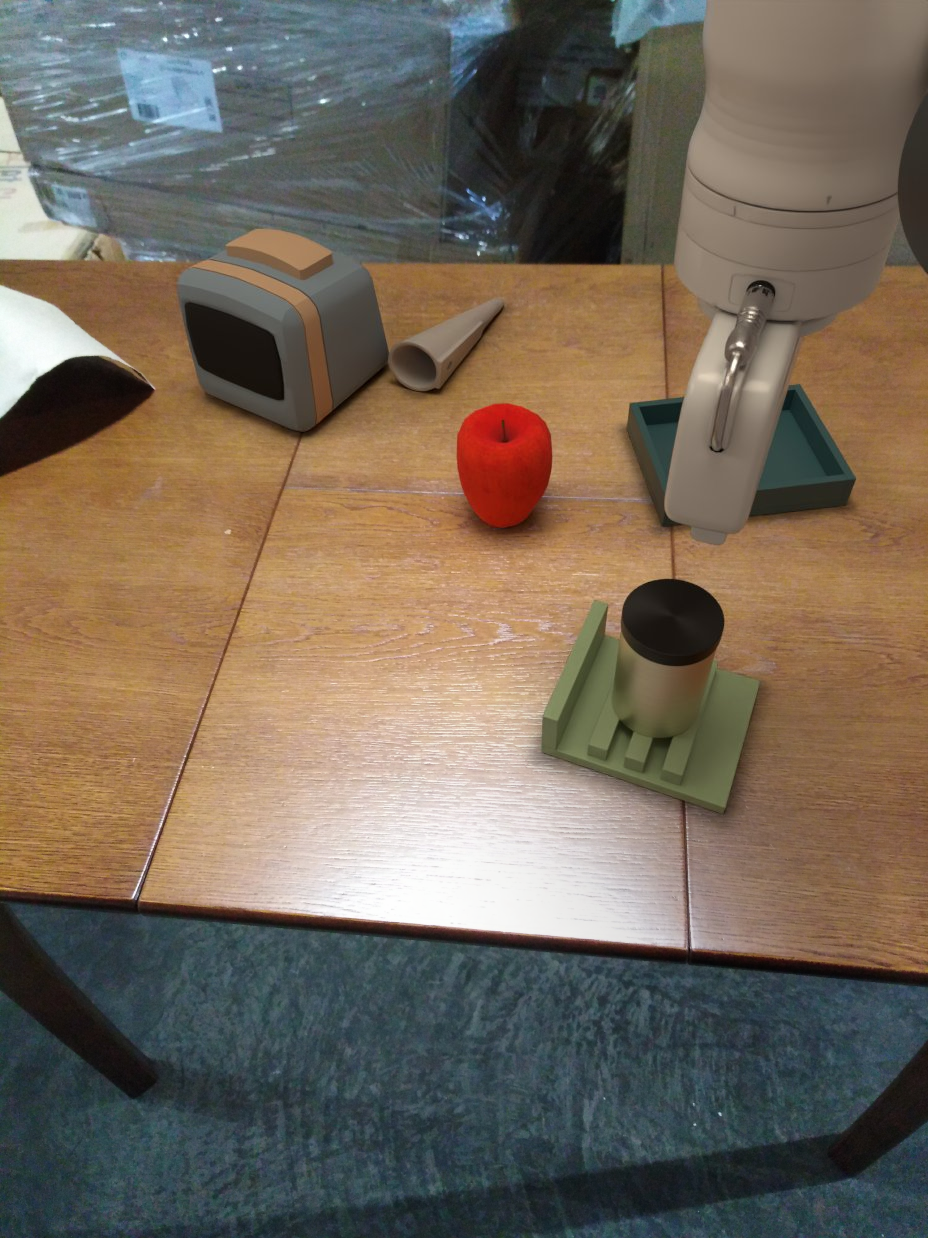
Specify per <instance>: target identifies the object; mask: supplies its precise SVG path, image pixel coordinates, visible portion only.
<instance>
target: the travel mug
mask: <svg viewBox="0 0 928 1238" xmlns="http://www.w3.org/2000/svg"><path fill="white" fill-rule="evenodd" d="M725 620H726V619H725V614H724V611H723V608H722V606H721V605H720V603H719V602H718V600H717V599H716V598H715V596H713V595H712V594H711V593H710V592H709V590H706V589H705V588H703V587H702V586H699V585H698V584H695V583H693V582H691V581H687V580H683V579H679V578H678V579H677V578H659V579H652V580H649V581H647V582H645V583H642V584H640V585H638V586H637V587H635V588H634V589H633V590H632V591H630V592H629V594H628V595H627V596H626V598H625V600H624V601H623V604H622V609H621V616H620V635H619V639H620V641H619V648H618V655H617V663H616V670H615V677H614V684H613V692H612V704H613V708H614V711H615V713H616V715H617V716H618V718H619V719H620V720H621V721H622V723H623V724H625V725H626V726H627V727H628V728H630V729H631V730H633V731H635V732H636V733H639V734H641V735H644V736H648V737H653V738H667V737H672V736H676V735H678V734H681V733H683V732H684V731H686V730H687V729H688V728H690V727H691V726H692V725H693V723H694V722H695V721H696V719H697V717H698V714H699V711H700V707H701V703H702V700H703V696H704V693H705V689H706V685H707V682H708V678H709V674H710V671H711V667H712V664H713V660H715V657H716V652H717V649H718V647H719V645H720V643H721V640H722V637H723V633H724V629H725Z"/></svg>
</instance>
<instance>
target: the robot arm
mask: <svg viewBox="0 0 928 1238" xmlns="http://www.w3.org/2000/svg"><path fill="white" fill-rule="evenodd" d="M704 11H705V12H704V17H703V26H702V35H701V46H702V47H701V48H702V55H703V62H704V63H703V64H704V72H705V91H704V100H703V103H702V108H701V112H700V114H699V118H698V121H697V122H696V125H695V127H694V130H693V132H692V134H691V136H690V139H689V144H688V148H687V153H686V154H687V155H686V160H685V169H684V177H683V185H682V193H681V201H680V207H679V208H680V211H679V217H678V225H677V232H676V240H675V249H674V257H673V267H674V272H675V274H676V276H677V278H678V280H679V282H680V283H681V285H683V287H684V288H685V289H686V290H687V291H688V292H689V293H690V294H692V295H693V296H695V297H696V301H697V305H698V308H699V310H700V312H701V313H702V314H703V315H704V316H705V317H706V318H707V319H708V320H709V321H710V322H711V323H710V325H709V328H708V330H707V332H706V335H705V337H704V340H703V342H702V345H701V346H700V349H699V351H698V354H697V357H696V359H695V362H694V363H693V366H692V369H691V373H690V375H689V378H688V382H687V385H686V389H685V392H684V396H683V397H684V400H683V404H682V408H681V413H680V418H679V423H678V428H677V433H676V438H675V443H674V448H673V454H672V459H671V465H670V470H669V476H668V482H667V487H666V493H665V501H664V508H665V512H666V514H667V516H668V517H669V519H671V520H672V521H675V522H677V523H681V524H680V525H685V526H688V527H690V532H689V535H690V537H691V538H692V539H693V540H694V541H696V542H700V543H703V544H708V545H713V546H721V545H724V543H726V540H727V537H728V535H736V534H738V533H740V532H742V530H744V527H745V525H746V524H747V522H748V519H749V517H750V516H749V514H750V511H751V507H752V504H753V501H754V498H755V494H756V491H757V488H758V485H759V481H760V478H761V475H762V472H763V468H764V465H765V462H766V459H767V455H768V452H769V449H770V446H771V442H772V439H773V436H774V433H775V429H776V426H777V423H778V420H779V416H780V413H781V410H782V407H783V403H784V400H785V397H786V394H787V390H788V387H789V385H791V384H790V383H791V381H792V377H793V374H794V371H795V368H796V364H797V361H798V357H799V354H800V351H801V348H802V344H803V342H804V338H805V337H806V336H810V335H813V334H816V333H817V332H820V331H822V330H824V329H825V328H827V327H828V326H830V325H831V324H832V323H833V322H834V321H835V320H836V319H837V317H838V315H839V314H841V313H844V312H847V311H849V310H851V309H853V308H854V307H857V306H859V305H860V304H861V303H863V302H865V301H866V300H867V299H868V298H870V296H871V295H872V294H873V293H874V292H875V290H876V289H877V287H878V285H879V283H880V281H881V278H882V275H883V272H884V269H885V265H886V262H887V259H888V256H889V252H890V249H891V247H892V243H893V240H894V236H895V233H896V230H897V227H898V224H899V221H900V222H901V226H902V231H903V234H904V236H905V239H906V241H907V244H908V245H909V248H910V250H911V252H912V254H913V256H914V257H915V259H916V261H917V262H918V264H919V266H920V267H921V268H922V270H923V271H924V273H926V275H927V276H928V0H706V3H705V10H704Z"/></svg>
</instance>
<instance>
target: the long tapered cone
mask: <svg viewBox="0 0 928 1238" xmlns="http://www.w3.org/2000/svg"><path fill="white" fill-rule="evenodd" d="M504 305H505V299H504V298H503V297H501V296H497V297H495V298H492V299H489V300H487V301H484V302H482V303H480V304H478V305H476V306H474V307H472V308H470V309H467V310H465V311H463V312H461V313H459V314H457V315H455V316H452V317H451V318H449V319H447V320H444V321H442V322H440V323H438V324H436V325H433V326H431V327H429V328H426V329H425V330H423V331H420V332H419V333H416V334H414V335H412V336H410V337H408V338H405V339H403V340H402V341H399V342H397V343H396V344H394V345H393V346H392V347H391V348H390V349H389V355H388V361H387V363H388V366H389V367H388V368H389V370H390V371H391V373H392V375H393V376H394V378H395V379H396V380H397V381H398V382H399V383H400V384H402V385H403V386H404V387H406V388H407V389H410V390H413V391H417V392H428V391H431V390H433V389H437V390H440V389H441V387H442V386H443V385H444V384H445V383H446V381H447V380H448V379H449V377H450V376H451V375H452V374H453V373H454V371H455V370H456V369H457V367H458V366H459V365H460V364H461V362H462V361H464V358H466V356H467V355H468V353H470V351H471V350H472V348H474V346H475V345H476V343H477V342H478V341H479V340H480V338H481V337H482V335H483V331H484V330H485V329H486V327H487V326H488V325H490V322H492V320H493V319H494V318H495V316H497V315H498V313H500V311H501V310H502V309H503V307H504Z"/></svg>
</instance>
